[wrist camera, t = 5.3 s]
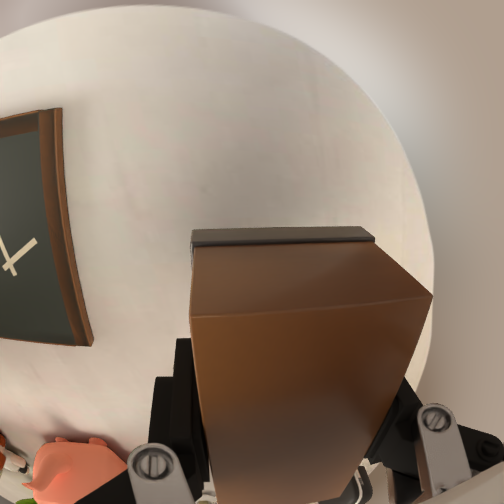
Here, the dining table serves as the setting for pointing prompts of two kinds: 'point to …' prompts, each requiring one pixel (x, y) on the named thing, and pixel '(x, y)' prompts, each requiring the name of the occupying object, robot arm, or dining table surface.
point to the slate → (37, 236)
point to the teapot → (72, 470)
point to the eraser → (296, 355)
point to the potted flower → (27, 501)
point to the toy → (11, 459)
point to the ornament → (208, 492)
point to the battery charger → (354, 490)
